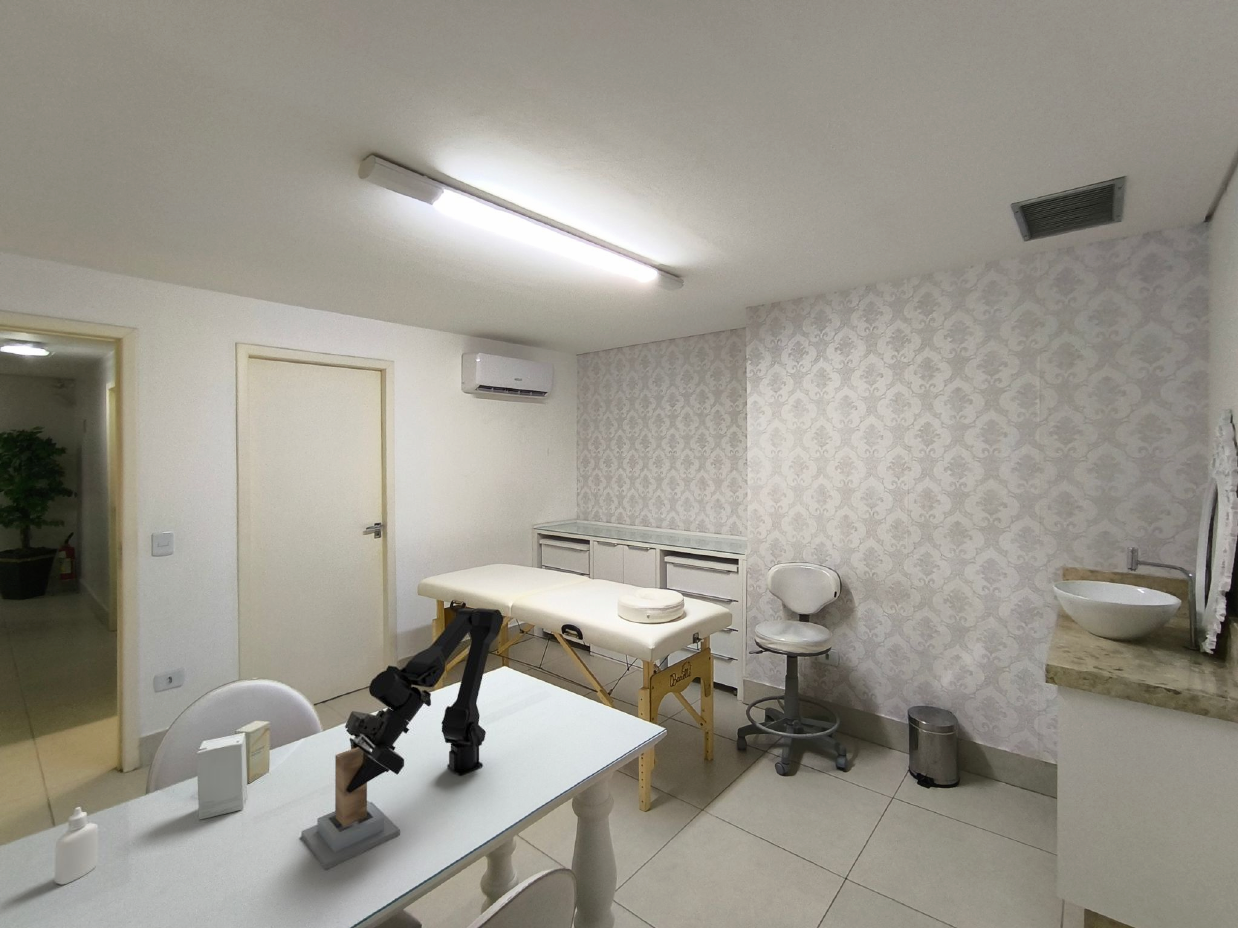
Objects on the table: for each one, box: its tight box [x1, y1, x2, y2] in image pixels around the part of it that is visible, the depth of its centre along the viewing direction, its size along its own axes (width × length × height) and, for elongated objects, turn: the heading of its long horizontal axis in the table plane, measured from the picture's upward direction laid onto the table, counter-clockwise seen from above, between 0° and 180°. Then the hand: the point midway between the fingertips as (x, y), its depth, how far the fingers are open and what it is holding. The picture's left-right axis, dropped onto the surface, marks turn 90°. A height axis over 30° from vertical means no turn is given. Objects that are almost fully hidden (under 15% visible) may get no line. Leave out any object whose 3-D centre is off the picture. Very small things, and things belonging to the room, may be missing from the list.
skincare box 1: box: [196, 733, 248, 821], centre depth 122 cm, size 8×6×15 cm
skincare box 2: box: [234, 720, 271, 784], centre depth 135 cm, size 6×4×12 cm
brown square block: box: [334, 747, 368, 827], centre depth 112 cm, size 4×4×12 cm
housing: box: [300, 800, 401, 870], centre depth 112 cm, size 14×14×4 cm
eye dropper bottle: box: [54, 806, 99, 886], centre depth 102 cm, size 4×6×12 cm
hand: (344, 786), depth 111 cm, fingers closed on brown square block, 5 cm apart
